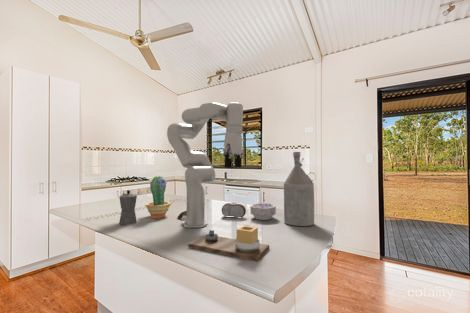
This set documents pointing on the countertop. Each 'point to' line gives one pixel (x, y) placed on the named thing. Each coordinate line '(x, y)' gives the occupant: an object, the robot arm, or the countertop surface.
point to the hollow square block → (247, 234)
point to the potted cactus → (158, 198)
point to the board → (227, 248)
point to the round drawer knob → (211, 236)
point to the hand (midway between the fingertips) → (233, 167)
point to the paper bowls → (263, 211)
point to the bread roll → (182, 214)
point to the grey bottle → (298, 196)
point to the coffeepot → (128, 209)
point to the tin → (233, 210)
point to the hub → (247, 247)
